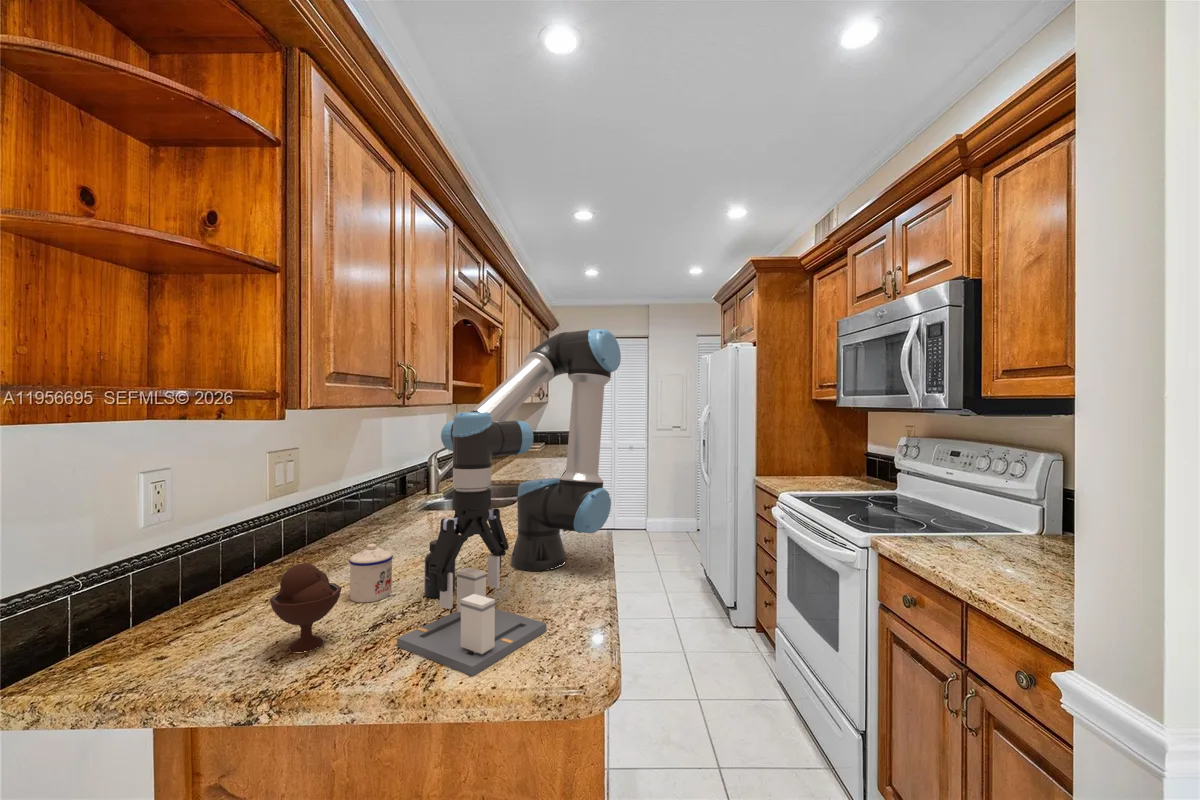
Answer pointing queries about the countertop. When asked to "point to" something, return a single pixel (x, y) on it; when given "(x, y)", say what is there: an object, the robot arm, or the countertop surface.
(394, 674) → the countertop surface
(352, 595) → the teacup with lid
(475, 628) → the block
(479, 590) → the block
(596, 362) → the robot arm
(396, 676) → the countertop surface
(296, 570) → the ice cream bowl
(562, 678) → the countertop surface
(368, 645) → the countertop surface
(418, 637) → the fader panel
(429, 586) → the supplement bottle
